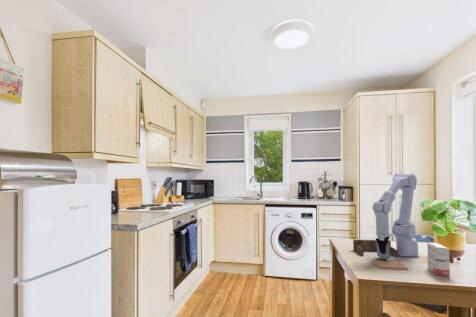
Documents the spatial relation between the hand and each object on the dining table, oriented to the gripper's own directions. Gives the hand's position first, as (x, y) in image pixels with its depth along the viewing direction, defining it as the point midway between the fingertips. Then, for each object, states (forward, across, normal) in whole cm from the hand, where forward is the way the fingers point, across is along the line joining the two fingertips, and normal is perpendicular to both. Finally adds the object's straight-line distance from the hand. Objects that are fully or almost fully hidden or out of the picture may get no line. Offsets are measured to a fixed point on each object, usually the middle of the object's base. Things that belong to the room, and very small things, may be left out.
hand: (383, 251), depth 131 cm
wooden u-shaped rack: (+4, +9, +4) cm, 11 cm away
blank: (+3, 0, 0) cm, 3 cm away
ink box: (+4, -6, -22) cm, 23 cm away
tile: (+4, -9, -3) cm, 10 cm away
